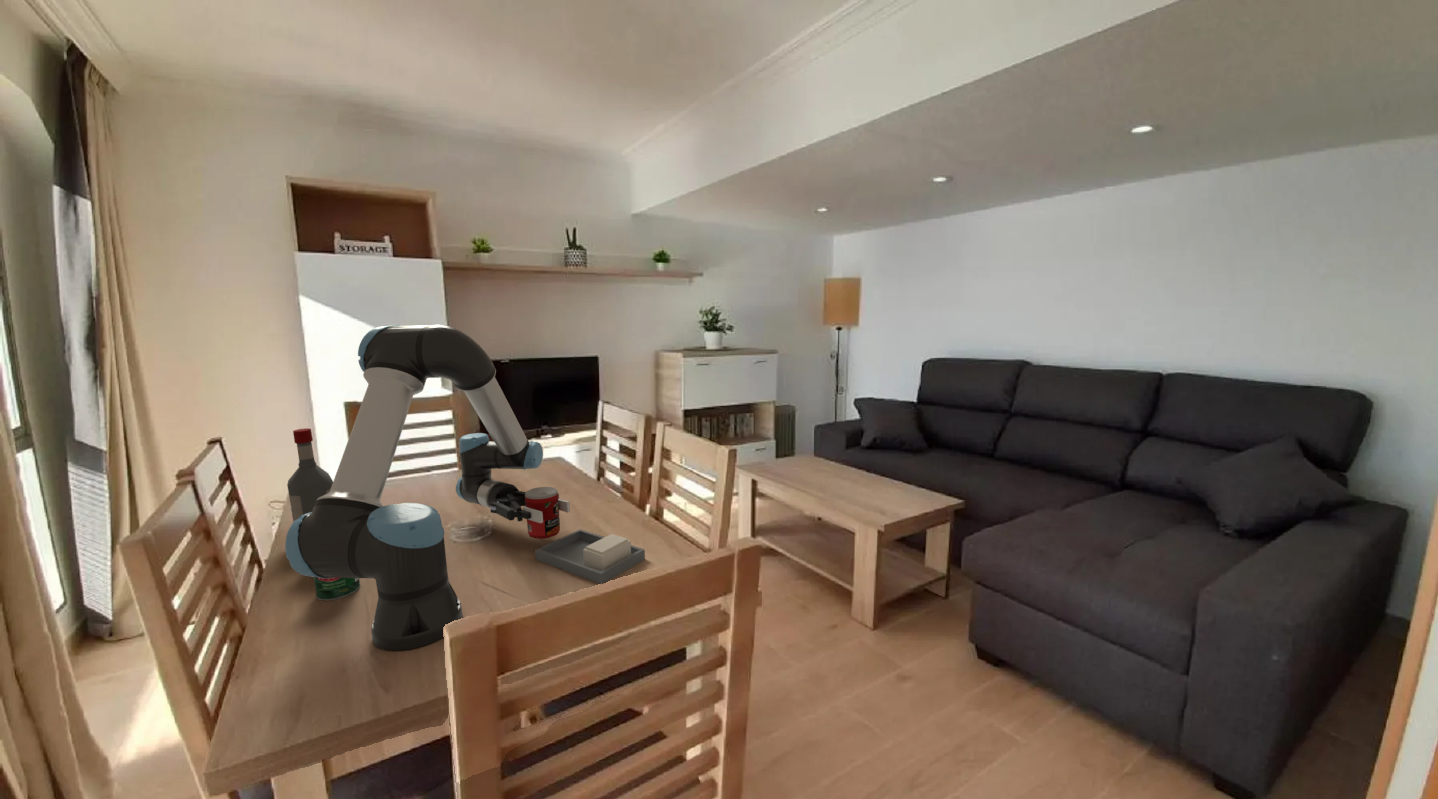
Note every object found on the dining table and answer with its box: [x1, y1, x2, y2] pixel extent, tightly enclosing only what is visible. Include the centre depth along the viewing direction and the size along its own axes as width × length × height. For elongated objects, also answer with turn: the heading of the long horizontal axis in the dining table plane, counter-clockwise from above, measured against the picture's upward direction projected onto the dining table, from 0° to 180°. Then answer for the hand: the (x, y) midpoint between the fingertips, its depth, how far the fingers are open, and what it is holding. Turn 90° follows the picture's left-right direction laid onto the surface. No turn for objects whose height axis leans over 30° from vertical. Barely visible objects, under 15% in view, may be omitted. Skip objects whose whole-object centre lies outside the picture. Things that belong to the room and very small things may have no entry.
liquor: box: [286, 427, 334, 523], centre depth 141 cm, size 9×9×30 cm
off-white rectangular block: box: [583, 533, 632, 571], centre depth 126 cm, size 6×9×6 cm, turn 146°
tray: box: [534, 529, 646, 585], centre depth 129 cm, size 22×14×3 cm, turn 56°
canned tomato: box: [313, 577, 361, 601], centre depth 117 cm, size 8×8×11 cm
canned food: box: [524, 486, 561, 540], centre depth 137 cm, size 8×8×11 cm
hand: (555, 512), depth 135 cm, fingers closed on canned food, 8 cm apart
